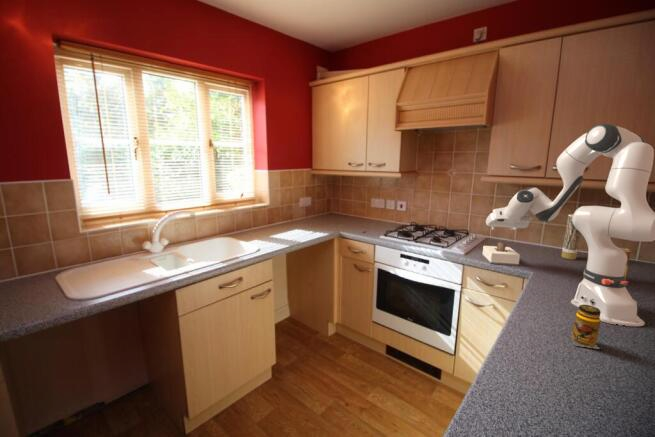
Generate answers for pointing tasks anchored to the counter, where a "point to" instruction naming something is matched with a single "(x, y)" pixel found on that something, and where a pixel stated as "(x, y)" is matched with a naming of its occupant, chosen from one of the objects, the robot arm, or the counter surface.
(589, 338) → the condiment
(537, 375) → the counter surface
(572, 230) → the bark patterned cylinder
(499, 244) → the peg
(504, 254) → the socket block
